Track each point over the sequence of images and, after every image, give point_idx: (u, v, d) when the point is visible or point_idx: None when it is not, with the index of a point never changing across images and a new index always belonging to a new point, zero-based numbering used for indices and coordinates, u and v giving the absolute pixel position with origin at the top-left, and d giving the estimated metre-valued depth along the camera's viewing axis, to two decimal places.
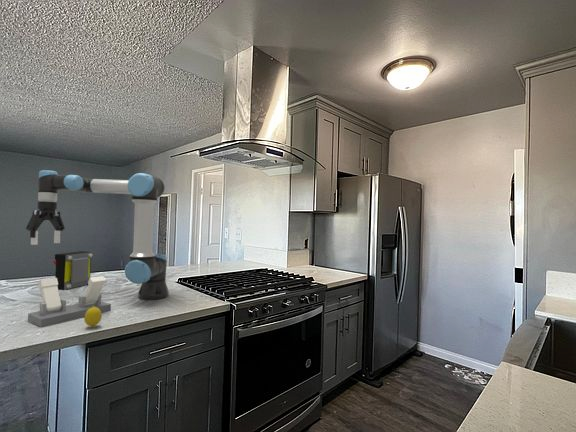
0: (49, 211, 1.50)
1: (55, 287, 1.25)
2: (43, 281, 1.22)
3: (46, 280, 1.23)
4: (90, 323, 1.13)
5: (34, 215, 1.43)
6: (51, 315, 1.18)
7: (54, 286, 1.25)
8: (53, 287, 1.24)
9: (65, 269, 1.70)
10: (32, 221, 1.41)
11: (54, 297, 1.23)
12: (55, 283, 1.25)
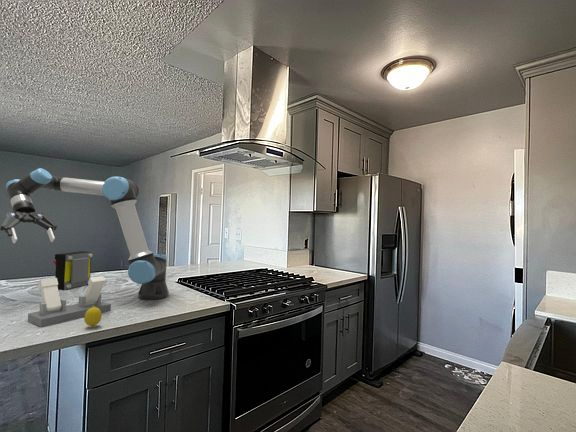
0: (26, 212, 1.38)
1: (55, 287, 1.25)
2: (43, 281, 1.22)
3: (46, 280, 1.23)
4: (90, 323, 1.13)
5: None
6: (51, 315, 1.18)
7: (54, 286, 1.25)
8: (53, 287, 1.24)
9: (65, 269, 1.70)
10: (4, 221, 1.29)
11: (54, 297, 1.23)
12: (55, 283, 1.25)
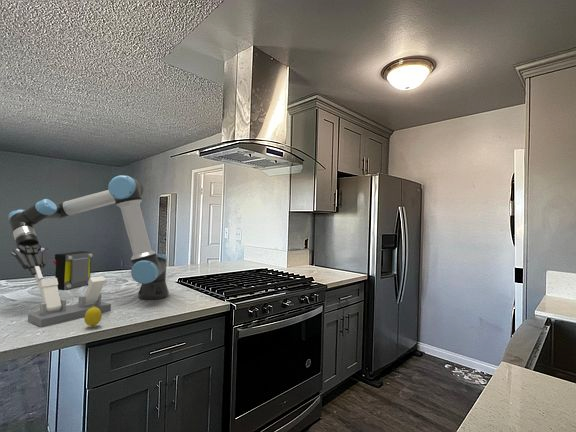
0: (29, 245, 1.34)
1: (55, 287, 1.25)
2: (43, 281, 1.22)
3: (46, 280, 1.23)
4: (90, 323, 1.13)
5: (16, 255, 1.29)
6: (51, 315, 1.18)
7: (54, 286, 1.25)
8: (53, 287, 1.24)
9: (65, 269, 1.70)
10: (20, 260, 1.28)
11: (54, 297, 1.23)
12: (55, 283, 1.25)
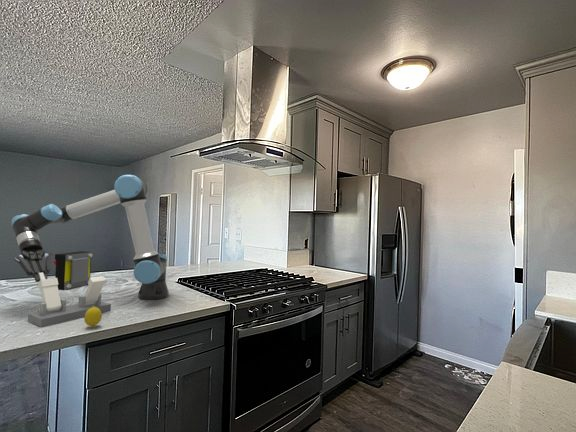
0: (33, 250, 1.32)
1: (55, 287, 1.25)
2: (43, 281, 1.22)
3: (46, 280, 1.23)
4: (90, 323, 1.13)
5: (20, 261, 1.26)
6: (51, 315, 1.18)
7: (54, 286, 1.25)
8: (53, 287, 1.24)
9: (65, 269, 1.70)
10: (24, 267, 1.25)
11: (54, 297, 1.23)
12: (55, 283, 1.25)
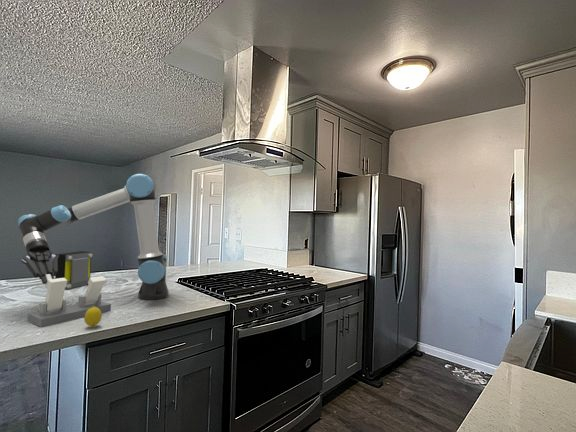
0: (40, 251, 1.28)
1: (62, 290, 1.22)
2: (53, 284, 1.18)
3: (56, 283, 1.19)
4: (90, 323, 1.13)
5: (26, 263, 1.22)
6: (51, 315, 1.18)
7: (61, 289, 1.21)
8: (60, 289, 1.21)
9: (65, 269, 1.70)
10: (31, 268, 1.21)
11: (57, 299, 1.21)
12: (63, 286, 1.22)
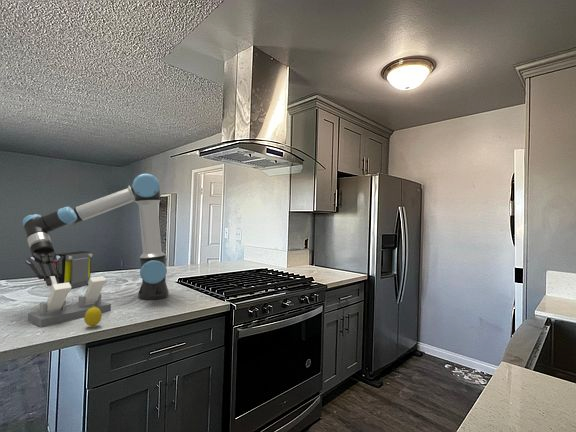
0: (45, 253, 1.26)
1: (65, 294, 1.21)
2: (56, 291, 1.16)
3: (60, 290, 1.17)
4: (90, 323, 1.13)
5: (31, 264, 1.21)
6: (51, 315, 1.18)
7: (64, 294, 1.20)
8: (63, 294, 1.20)
9: (65, 269, 1.70)
10: (35, 269, 1.20)
11: (58, 302, 1.21)
12: (67, 292, 1.20)
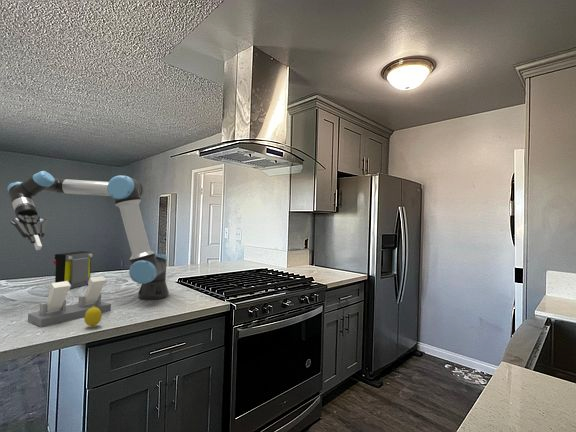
0: (28, 215, 1.37)
1: (64, 293, 1.21)
2: (56, 289, 1.17)
3: (59, 288, 1.17)
4: (90, 323, 1.13)
5: (15, 224, 1.31)
6: (51, 315, 1.18)
7: (63, 292, 1.20)
8: (62, 293, 1.20)
9: (65, 269, 1.70)
10: (20, 229, 1.30)
11: (58, 302, 1.21)
12: (66, 290, 1.20)
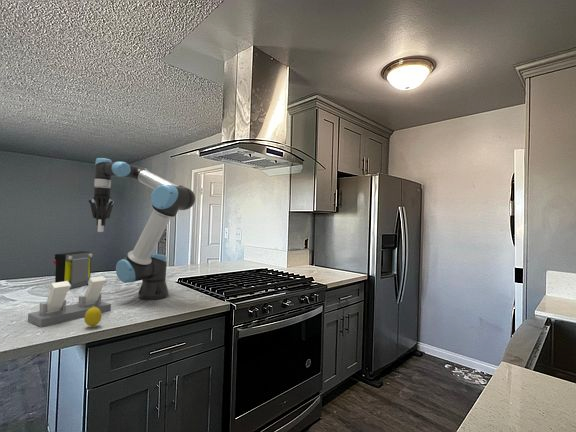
0: (101, 196, 1.58)
1: (64, 293, 1.21)
2: (56, 289, 1.17)
3: (59, 288, 1.17)
4: (90, 323, 1.13)
5: None
6: (51, 315, 1.18)
7: (63, 292, 1.20)
8: (62, 293, 1.20)
9: (65, 269, 1.70)
10: None
11: (58, 302, 1.21)
12: (66, 290, 1.20)
